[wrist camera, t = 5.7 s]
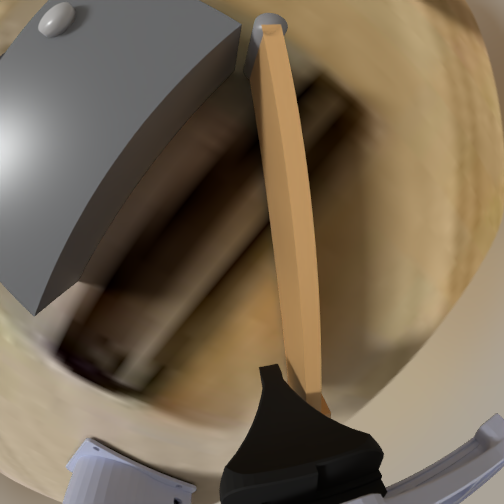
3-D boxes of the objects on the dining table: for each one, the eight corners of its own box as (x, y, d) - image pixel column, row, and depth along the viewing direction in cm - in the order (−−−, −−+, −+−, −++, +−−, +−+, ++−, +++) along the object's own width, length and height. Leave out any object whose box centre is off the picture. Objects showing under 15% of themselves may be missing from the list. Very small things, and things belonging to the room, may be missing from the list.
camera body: (234, 70, 10) (243, 16, 6) (77, 281, 12) (27, 322, 7) (105, -1, 8) (76, -47, 4) (-19, 181, 9) (-73, 187, 5)
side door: (271, 60, 10) (293, 13, 6) (308, 382, 14) (331, 433, 10) (241, 61, 10) (252, 13, 6) (285, 387, 14) (302, 441, 10)
